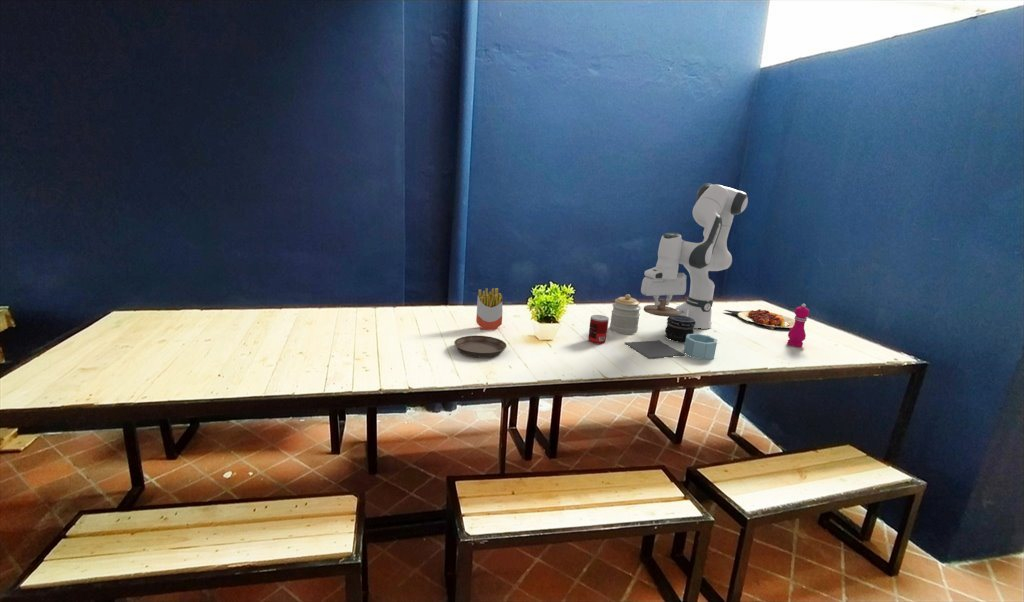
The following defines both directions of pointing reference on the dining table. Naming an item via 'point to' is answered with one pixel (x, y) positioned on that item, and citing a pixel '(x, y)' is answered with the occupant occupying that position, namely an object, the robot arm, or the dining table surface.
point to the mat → (654, 349)
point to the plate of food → (765, 318)
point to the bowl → (700, 346)
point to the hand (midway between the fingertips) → (661, 305)
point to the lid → (661, 309)
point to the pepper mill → (798, 327)
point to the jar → (625, 315)
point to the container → (679, 327)
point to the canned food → (598, 329)
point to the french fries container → (489, 310)
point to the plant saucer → (480, 346)
